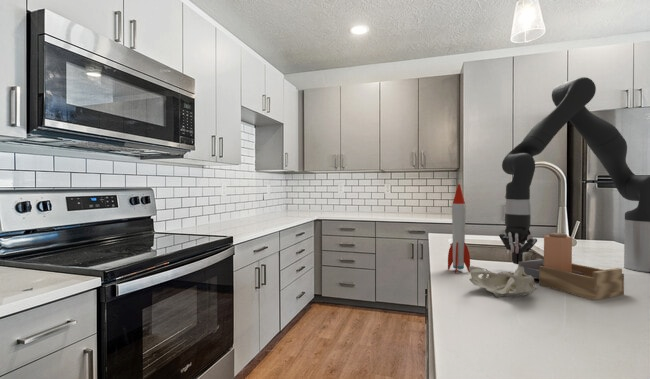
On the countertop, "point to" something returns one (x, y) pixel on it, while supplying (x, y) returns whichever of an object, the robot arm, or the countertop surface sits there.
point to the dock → (584, 281)
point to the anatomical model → (503, 281)
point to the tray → (536, 267)
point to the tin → (558, 252)
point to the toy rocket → (458, 234)
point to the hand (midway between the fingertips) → (517, 263)
